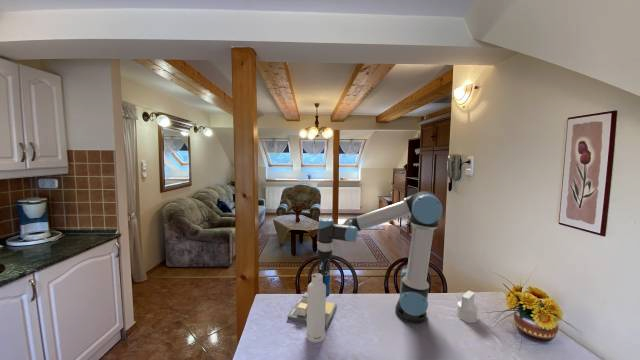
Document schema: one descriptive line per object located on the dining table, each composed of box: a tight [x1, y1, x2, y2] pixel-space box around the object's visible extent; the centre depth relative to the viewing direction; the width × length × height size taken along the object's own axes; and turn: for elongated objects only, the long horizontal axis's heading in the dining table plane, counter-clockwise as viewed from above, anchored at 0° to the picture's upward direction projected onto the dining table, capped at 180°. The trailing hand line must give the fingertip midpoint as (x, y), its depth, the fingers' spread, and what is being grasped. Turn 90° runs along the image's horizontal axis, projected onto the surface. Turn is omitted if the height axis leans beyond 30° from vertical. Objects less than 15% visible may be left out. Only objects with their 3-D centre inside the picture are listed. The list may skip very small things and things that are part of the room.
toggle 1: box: [297, 302, 307, 316], centre depth 127 cm, size 4×4×4 cm
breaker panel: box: [287, 296, 338, 330], centre depth 131 cm, size 20×18×2 cm
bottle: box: [305, 272, 327, 343], centre depth 114 cm, size 8×8×28 cm
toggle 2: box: [302, 291, 308, 304], centre depth 137 cm, size 4×4×4 cm
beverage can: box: [324, 271, 331, 298], centre depth 133 cm, size 6×6×12 cm
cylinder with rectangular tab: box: [456, 290, 479, 323], centre depth 132 cm, size 9×9×12 cm
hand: (323, 292), depth 133 cm, fingers closed on beverage can, 6 cm apart
